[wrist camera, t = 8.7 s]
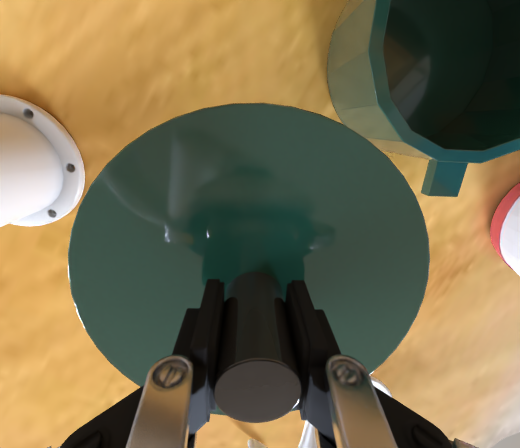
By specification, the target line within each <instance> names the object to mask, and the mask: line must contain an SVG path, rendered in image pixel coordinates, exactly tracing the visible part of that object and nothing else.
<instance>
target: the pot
mask: <svg viewBox="0 0 520 448" xmlns="http://www.w3.org/2000/svg"><path fill="white" fill-rule="evenodd" d="M327 79H328V87H329V93H330V96H331V100H332V103H333V106H334V108H335V110H336V112H337V115H338V116H339V118H340V119H341V121H342V123H343V124H344V125H345V126H347V127H349V128H350V129H352V130H353V131H355V132H357V133H358V134H360V135H361V136H363V137H364V138H366V139H368V140H369V141H370V142H371V143H372V144H373V145H375V146H376V147H377V148H378V149H379V150H382V151H387V152H392V153H397V154H403V155H408V156H413V157H418V158H423V159H428V160H429V163H428V167H427V171H426V175H425V179H424V182H423V186H422V190H421V193H422V194H425V195H427V196H445V197H457V196H458V193H459V190H460V187H461V184H462V180H463V177H464V174H465V171H466V168H467V164H468V163H483V162H486V161H489V160H492V159H495V158H498V157H501V156H503V155H506V154H509V153H512V152H515V151H518V150H520V0H348V1H347V4H346V5H345V7H344V9H343V11H342V13H341V15H340V16H339V19H338V21H337V24H336V26H335V29H334V31H333V33H332V38H331V42H330V47H329V53H328V62H327Z"/></svg>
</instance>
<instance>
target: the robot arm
mask: <svg viewBox="0 0 520 448" xmlns="http://www.w3.org/2000/svg"><path fill="white" fill-rule="evenodd" d="M74 167H75V168H74ZM84 185H85V171H84V164H83V161H82V158H81V155H80V152H79V150H78V148H77V146H76V144H75V142H74V140H73V139H72V137H71V136H70V135H69V133H68V132H67V131H66V129H65V128H64V127H63V126H62V125H61V124H60V123H59V122H58V121H57V120H56V119H55V118H54V117H53V116H51V115H50V114H49V113H47V112H46V111H45V110H43V109H42V108H40V107H38V106H36V105H34V104H33V103H31V102H29V101H26V100H23V99H20V98H17V97H14V96H8V95H2V94H0V227H2V226H4V225H6V224H9V223H11V224H14V225H21V226H41V225H44V224H48V223H52V222H54V221H56V220H58V219H60V218H62V217H64V216H65V215H67V214H68V213H70V212H71V211H72V210H73V208H74V207H75V206H76V205H77V204H78V202H79V200H80V198H81V196H82V193H83V190H84ZM285 305H286V310H287V314H288V319H289V324H290V329H291V333H292V338H293V343H294V348H295V352H296V357H297V362H298V367H299V371H300V376H301V381H302V394H301V398H300V400H299V402H298V404H297V405H296V406H295V410H300V414H301V419H302V420H307V421H308V422H309V423H310V424H312V425H313V426H314V427H315V437H316V444H317V448H478V447H475V446H473V445H471V444H468V443H466V442H463V441H461V440H458V439H456V438H455V439H454V441H451V440H448V438H447V437H446V436H445V435H444V433H443V432H442V431H441V430H440V429H439V428H437V427H436V426H435V425H434V424H432V423H431V422H429V421H428V420H426V419H425V418H423V417H421V416H420V415H418V414H417V413H415V412H414V411H412V410H411V409H409V408H407V407H406V406H404V405H403V404H401V403H400V402H398V401H397V400H395V399H394V398H392V397H390V396H389V395H387V394H386V393H384V392H383V391H381V390H380V389H378V388H376V387H375V386H373V383H372V381H371V378H370V376H369V373H368V371H367V369H366V368H365V366H364V365H363V364H362V363H361V362H360V361H358V360H357V359H355V358H353V357H351V356H348V355H343V354H341V351H340V349H339V346H338V344H337V342H336V339H335V337H334V334H333V332H332V329H331V327H330V324H329V322H328V320H327V317H326V315H325V312H324V311H323V310H322V309H314V306H313V303H312V300H311V298H310V295H309V292H308V289H307V287H306V284H305V281H304V280H292V281H291V283H287V290H286V300H285ZM223 310H224V282H220V279H207V282H206V286H205V290H204V294H203V298H202V302H201V306H200V308H188V309H187V310H186V313H185V316H184V319H183V322H182V325H181V328H180V331H179V334H178V337H177V340H176V343H175V346H174V349H173V353H172V355H169V356H166V357H164V358H161V359H160V360H158V361H157V362H156V363H155V364H154V365H153V366H152V367H151V368H150V370H149V372H148V375H147V378H146V382H145V385H143V386H142V387H140V388H139V389H137V390H136V391H134V392H133V393H131V394H130V395H128V396H127V397H125V398H124V399H122V400H121V401H119V402H118V403H116V404H115V405H113V406H112V407H110V408H109V409H107V410H106V411H104V412H103V413H101V414H100V415H98V416H97V417H95V418H94V419H92V420H91V421H89V422H88V423H86V424H85V425H83V426H82V427H80V428H79V429H77V430H76V431H75V432H74V433H73V434H71V435H70V436H69V437H68V438H67V439H66V441H65V442H64V443H63V444H62V446H60V447H58V448H196V439H197V431H198V430H199V429H200V428H201V427H202V426H203V425H204V424H205V423H206V422H209V419H210V411H216V406H217V404H216V402H215V400H214V396H213V386H214V379H215V373H216V365H217V357H218V349H219V341H220V333H221V326H222V318H223ZM48 448H52V447H51V446H50V447H48Z"/></svg>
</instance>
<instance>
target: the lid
mask: <svg viewBox="0 0 520 448" xmlns="http://www.w3.org/2000/svg"><path fill="white" fill-rule="evenodd" d="M429 263H430V253H429V238H428V233H427V229H426V224H425V220H424V216H423V214H422V211H421V209H420V206H419V204H418V201H417V199H416V196H415V194H414V193H413V191H412V189H411V188H410V186H409V184H408V183H407V181H406V179H405V178H404V176H403V175H402V173H401V172H400V171H399V170H398V169H397V167H396V166H395V165H394V164H393V163H392V161H391V160H390V159H389V158H388V157H387V156H386V155H385V154H384V153H383V152H381V151H380V150H379V149H378V148H377V147H376V146H375V145H373V144H372V143H371V142H370V141H369V140H368V139H366V138H364V137H363V136H361V135H360V134H358V133H357V132H355V131H353V130H352V129H350V128H349V127H347V126H345V125H343V124H341V123H339V122H336V121H334V120H332V119H330V118H327V117H325V116H323V115H321V114H317V113H314V112H310V111H306V110H303V109H299V108H296V107H292V106H284V105H276V104H268V103H233V104H226V105H220V106H214V107H208V108H203V109H199V110H196V111H193V112H190V113H187V114H184V115H181V116H177V117H175V118H173V119H170V120H168V121H166V122H164V123H162V124H160V125H158V126H156V127H154V128H152V129H150V130H148V131H147V132H145V133H144V134H143V135H141V136H140V137H138V138H137V139H135V140H134V141H132V142H131V143H129V144H128V145H127V146H125V147H124V148H123V149H122V150H121V151H120V152H119V153H118V154H117V155H116V156H115V157H114V158H113V159H112V160H111V161H110V162H109V163H108V164H107V165H106V166H105V167H104V168H103V170H102V171H101V172H100V174H99V175H98V176H97V178H96V179H95V180H94V182H93V183H92V184H91V186H90V188H89V190H88V191H87V193H86V195H85V197H84V199H83V201H82V203H81V204H80V206H79V209H78V212H77V215H76V218H75V221H74V224H73V227H72V231H71V237H70V243H69V249H68V276H69V282H70V289H71V294H72V298H73V301H74V304H75V307H76V310H77V313H78V315H79V317H80V319H81V322H82V324H83V326H84V328H85V330H86V332H87V333H88V335H89V336H90V338H91V339H92V341H93V342H94V344H95V345H96V347H97V348H98V349H99V350H100V352H101V353H102V354H103V355H104V356H105V357H106V358H107V360H108V361H109V362H110V363H111V364H112V365H113V366H114V367H116V368H117V369H118V370H119V371H120V372H121V373H122V374H123V375H124V376H126V377H127V378H129V379H130V380H131V381H133V382H134V383H136V384H137V385H138V386H140V387H142V386H143V385H145V382H146V378H147V375H148V372H149V370H150V368H151V367H152V366H153V365H154V364H155V363H156V362H157V361H158V360H160V359H161V358H164V357H166V356H169V355H172V353H173V349H174V346H175V343H176V340H177V337H178V334H179V331H180V328H181V325H182V322H183V319H184V316H185V313H186V310H187V309H188V308H200V306H201V302H202V298H203V294H204V290H205V286H206V282H207V279H220V282H224V310H223V318H222V326H221V333H220V341H219V349H218V357H217V365H216V373H215V379H214V386H213V396H214V400H215V402H216V404H217V406H216V411H210V413H211V414H218V415H227V416H229V417H231V418H233V419H236V420H239V421H243V422H249V423H262V422H268V421H272V420H275V419H278V418H280V417H282V416H284V415H286V414H287V413H289V412H291V411H295V406H296V405H297V404H298V402H299V400H300V398H301V394H302V381H301V376H300V371H299V367H298V362H297V357H296V352H295V348H294V343H293V338H292V333H291V329H290V324H289V319H288V314H287V310H286V305H285V300H286V290H287V283H291V281H292V280H304V281H305V284H306V287H307V289H308V292H309V295H310V298H311V300H312V303H313V306H314V309H322V310H323V311H324V312H325V315H326V317H327V320H328V322H329V324H330V327H331V329H332V332H333V334H334V337H335V339H336V342H337V344H338V346H339V349H340V351H341V354H343V355H348V356H351V357H353V358H355V359H357V360H358V361H360V362H361V363H362V364H363V365H364V366H365V368H366V369H367V371H368V373H369V375H370V374H371V373H372V372H373V371H374V370H376V369H377V368H378V367H379V366H380V365H381V364H382V363H384V362H385V360H386V359H387V358H388V357H389V356H390V355H391V354H392V353H393V352H394V351H395V349H396V348H397V347H398V346H399V344H400V343H401V341H402V340H403V339H404V337H405V336H406V334H407V333H408V331H409V329H410V328H411V326H412V324H413V322H414V320H415V318H416V316H417V314H418V311H419V309H420V306H421V304H422V301H423V298H424V295H425V290H426V286H427V282H428V275H429Z"/></svg>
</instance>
